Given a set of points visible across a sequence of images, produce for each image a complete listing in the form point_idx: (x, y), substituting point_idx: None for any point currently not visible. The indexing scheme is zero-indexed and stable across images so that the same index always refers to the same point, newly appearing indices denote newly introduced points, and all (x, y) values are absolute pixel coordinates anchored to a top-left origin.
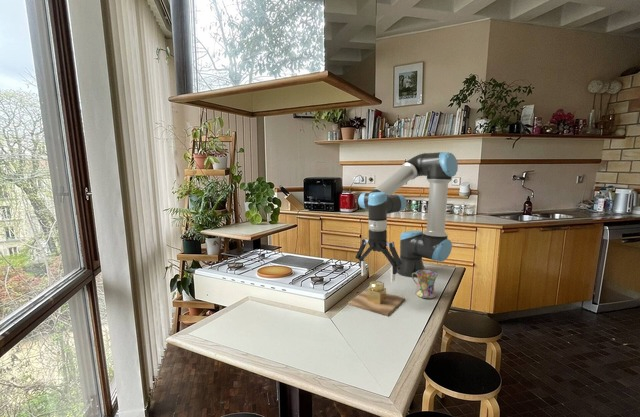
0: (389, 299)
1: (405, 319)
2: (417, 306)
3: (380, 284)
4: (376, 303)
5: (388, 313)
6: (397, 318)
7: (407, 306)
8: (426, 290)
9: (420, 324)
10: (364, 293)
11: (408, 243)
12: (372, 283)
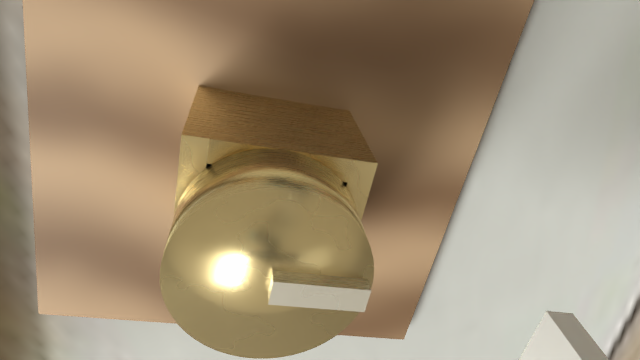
0: (384, 99)
1: (514, 313)
2: (632, 85)
3: (330, 300)
4: None
5: (406, 326)
6: (463, 322)
7: (544, 121)
8: None
9: (598, 327)
10: (68, 54)
11: None
12: (210, 308)
